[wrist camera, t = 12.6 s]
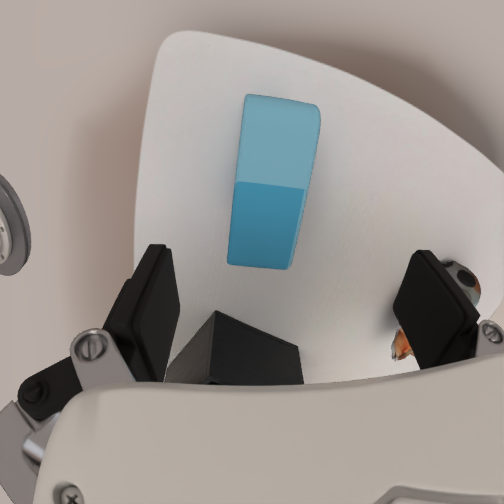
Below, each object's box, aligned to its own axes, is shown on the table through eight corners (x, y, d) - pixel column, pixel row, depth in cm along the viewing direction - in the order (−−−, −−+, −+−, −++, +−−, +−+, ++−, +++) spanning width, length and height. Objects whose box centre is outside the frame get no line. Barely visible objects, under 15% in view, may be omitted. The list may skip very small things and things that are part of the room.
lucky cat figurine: (421, 332, 43) (413, 397, 33) (380, 291, 43) (364, 356, 33) (488, 288, 33) (501, 356, 23) (449, 237, 33) (461, 300, 23)
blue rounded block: (245, 93, 24) (245, 94, 14) (292, 100, 24) (325, 107, 14) (232, 206, 30) (225, 274, 20) (274, 211, 31) (288, 279, 21)
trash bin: (167, 367, 46) (156, 420, 37) (215, 309, 38) (209, 376, 29) (237, 393, 50) (237, 442, 41) (297, 346, 43) (307, 405, 34)
